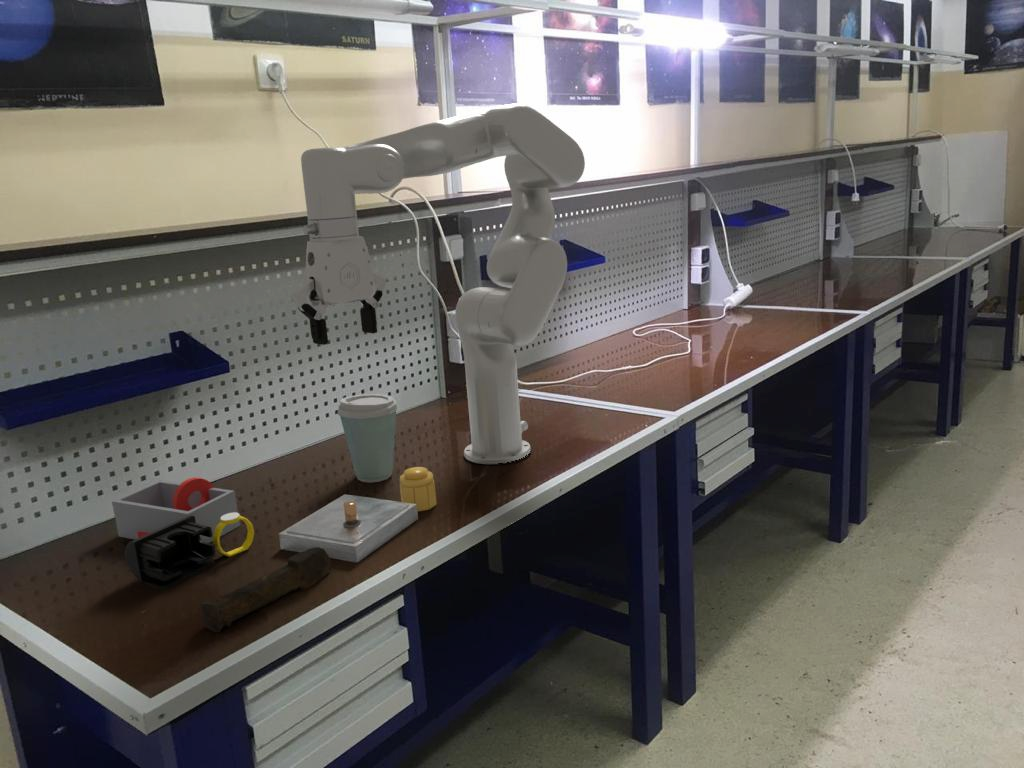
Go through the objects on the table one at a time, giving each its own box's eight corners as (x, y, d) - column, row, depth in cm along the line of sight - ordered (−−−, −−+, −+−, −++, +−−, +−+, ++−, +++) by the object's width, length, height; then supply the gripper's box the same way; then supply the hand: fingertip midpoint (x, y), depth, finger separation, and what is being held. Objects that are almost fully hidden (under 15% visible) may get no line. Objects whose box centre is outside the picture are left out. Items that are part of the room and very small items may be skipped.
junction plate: (346, 508, 143) (342, 474, 141) (418, 518, 136) (414, 483, 135) (281, 549, 129) (275, 511, 128) (357, 562, 123) (352, 523, 121)
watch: (224, 563, 126) (215, 527, 125) (214, 558, 128) (205, 522, 126) (260, 546, 130) (251, 510, 129) (250, 541, 132) (241, 506, 131)
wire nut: (414, 496, 146) (410, 463, 144) (441, 500, 143) (438, 466, 142) (396, 509, 141) (392, 475, 140) (424, 513, 139) (420, 478, 137)
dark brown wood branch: (218, 638, 106) (212, 604, 105) (201, 628, 108) (195, 594, 107) (343, 578, 119) (339, 547, 118) (325, 570, 122) (322, 540, 121)
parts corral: (166, 513, 146) (160, 480, 145) (240, 525, 139) (234, 490, 137) (118, 536, 138) (111, 501, 137) (194, 550, 131) (188, 513, 129)
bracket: (206, 512, 144) (198, 468, 142) (220, 518, 141) (212, 473, 139) (136, 538, 136) (126, 491, 134) (149, 545, 133) (140, 497, 131)
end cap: (188, 553, 130) (181, 511, 128) (220, 562, 126) (212, 519, 125) (129, 582, 122) (120, 538, 120) (161, 593, 118) (152, 547, 117)
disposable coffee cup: (374, 463, 164) (365, 386, 160) (417, 471, 158) (409, 392, 154) (333, 482, 155) (323, 401, 152) (377, 491, 149) (367, 408, 146)
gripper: (300, 235, 126) (314, 350, 130) (392, 224, 138) (402, 330, 142) (272, 235, 131) (286, 346, 135) (363, 224, 143) (373, 326, 147)
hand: (345, 337), depth 139 cm, fingers open, 9 cm apart
